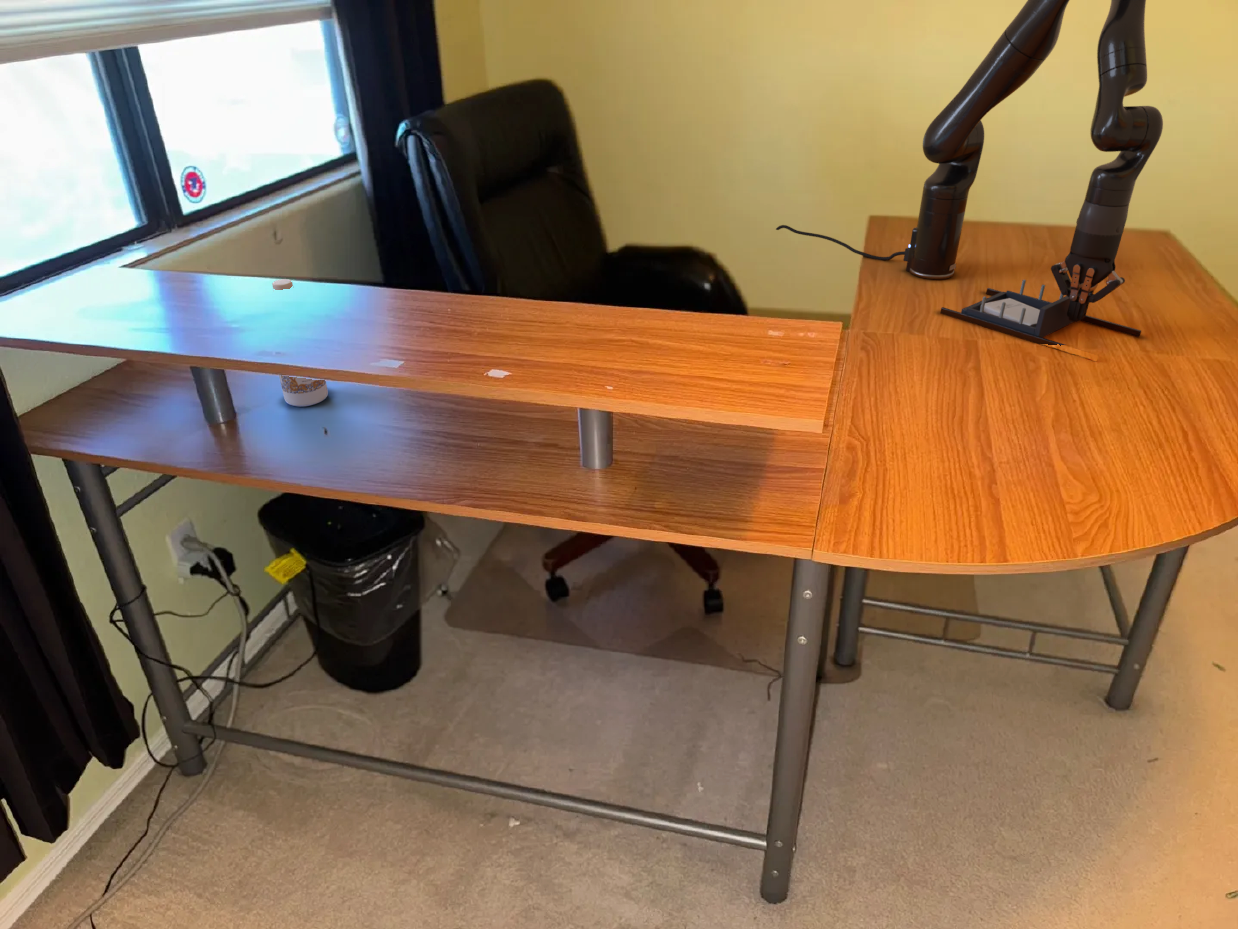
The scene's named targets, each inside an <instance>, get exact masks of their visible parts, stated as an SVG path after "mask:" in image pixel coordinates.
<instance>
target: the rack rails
mask: <svg viewBox="0 0 1238 929" xmlns="http://www.w3.org/2000/svg"><path fill="white" fill-rule="evenodd" d="M1001 292H1002V290H998V289H995V288H990V287H987V288H986V293H985V294H986V295H989V296H994V295H996V294H998V293H1001ZM939 312H940V314H941V315H944V316H947V317H951V318H954V319H957V320H961V321H962V322H967V323H970V324H973V325H976V326H979V327H982V328H986V329H989V330H992V331H996V332H999V333H1002V334H1006V335H1009V336H1012V337H1015V338H1018V339H1021V340H1025V341H1028V342H1031V343H1034V344H1036V345H1037V344H1038V345H1040V344H1048V345H1057V344H1059V345H1060V346H1061V345H1066V344H1065V343H1061V342H1058V341H1055V340H1051V339H1049V338H1045V337H1043V338H1042V337H1039V336H1036V335H1032V334H1029V333H1026V332H1022V331H1019V330H1016V329H1013V328H1009V327H1006V326H1003V325H1000V324H996V323H993V322H990V321H987V320H983V319H980V318H977V317H973V316H970V315H967V314H964V313H961V311H957V310H954V309H951V308H947V307H944V306H943V307H941V308H940V311H939ZM1079 322H1084V323H1087V324H1090V325H1094V326H1098V327H1101V328H1104V329H1108V330H1110V331H1111V330H1112V331H1115V332H1119V333H1122V334H1126V335H1129V336H1133V337H1136V338H1140V337H1141V333H1142V329H1137V328H1134V327H1131V326H1127V325H1122V324H1119V323H1117V322H1116V323H1115V322H1113V321H1110V320H1105V319H1101V318H1097V317H1094V316H1090V315H1087V314H1086V316H1085V317H1084V318H1083V319H1081V320H1080V321H1079Z"/></svg>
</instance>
